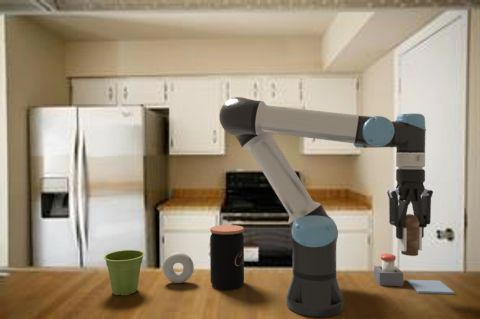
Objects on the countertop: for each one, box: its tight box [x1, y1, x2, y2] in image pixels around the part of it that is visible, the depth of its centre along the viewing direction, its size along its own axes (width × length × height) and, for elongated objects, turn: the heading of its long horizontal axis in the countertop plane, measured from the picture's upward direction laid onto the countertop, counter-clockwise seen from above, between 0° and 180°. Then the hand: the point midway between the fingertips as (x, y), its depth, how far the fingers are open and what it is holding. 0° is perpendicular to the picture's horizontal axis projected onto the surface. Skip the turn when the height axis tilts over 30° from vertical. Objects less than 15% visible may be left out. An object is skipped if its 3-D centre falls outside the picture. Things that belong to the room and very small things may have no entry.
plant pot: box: [103, 249, 146, 296], centre depth 111 cm, size 12×12×11 cm
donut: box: [162, 251, 195, 284], centre depth 118 cm, size 10×4×10 cm, turn 93°
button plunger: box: [380, 253, 397, 272], centre depth 118 cm, size 4×4×7 cm
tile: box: [406, 279, 455, 295], centre depth 112 cm, size 10×10×1 cm
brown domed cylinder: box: [400, 213, 419, 257], centre depth 105 cm, size 5×5×11 cm
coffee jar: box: [209, 224, 245, 291], centre depth 116 cm, size 11×11×18 cm
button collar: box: [373, 265, 404, 287], centre depth 118 cm, size 7×7×4 cm
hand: (409, 249), depth 105 cm, fingers closed on brown domed cylinder, 4 cm apart
